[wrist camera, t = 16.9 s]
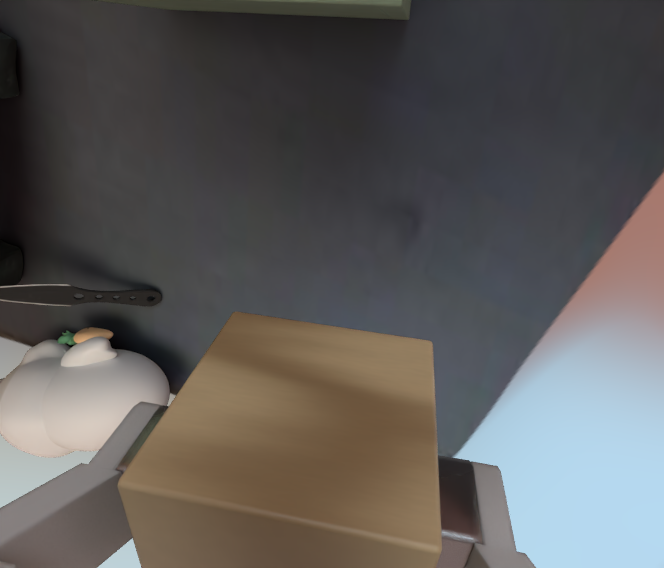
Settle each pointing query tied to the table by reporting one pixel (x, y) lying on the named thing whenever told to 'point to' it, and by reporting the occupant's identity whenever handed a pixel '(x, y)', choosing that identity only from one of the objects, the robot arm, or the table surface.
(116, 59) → the table surface
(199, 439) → the block
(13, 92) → the green backpack
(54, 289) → the throwing knife
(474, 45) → the table surface
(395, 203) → the table surface
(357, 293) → the table surface
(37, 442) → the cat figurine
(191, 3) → the cabinet
